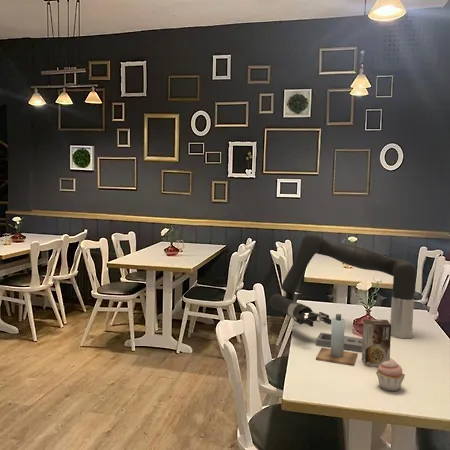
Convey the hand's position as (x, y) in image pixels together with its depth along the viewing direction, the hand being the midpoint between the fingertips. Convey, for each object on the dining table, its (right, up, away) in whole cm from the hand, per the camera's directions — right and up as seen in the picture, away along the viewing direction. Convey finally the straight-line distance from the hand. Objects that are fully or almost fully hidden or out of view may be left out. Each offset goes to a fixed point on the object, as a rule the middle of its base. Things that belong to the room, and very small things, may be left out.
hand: (321, 323), depth 192 cm
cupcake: (+15, -14, -35) cm, 41 cm away
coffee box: (+17, -12, -14) cm, 25 cm away
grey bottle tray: (+10, -10, +5) cm, 15 cm away
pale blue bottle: (+4, -11, -9) cm, 14 cm away
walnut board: (+4, -11, -9) cm, 15 cm away
